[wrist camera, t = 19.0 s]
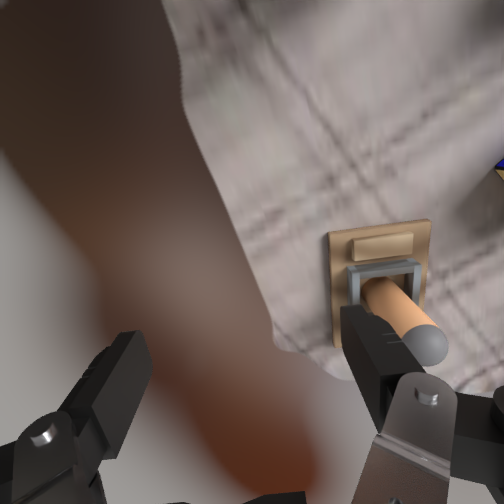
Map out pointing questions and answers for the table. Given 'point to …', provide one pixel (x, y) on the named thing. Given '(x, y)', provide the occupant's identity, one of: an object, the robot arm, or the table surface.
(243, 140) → the table surface
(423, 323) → the grey-capped tan cylinder
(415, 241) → the jig
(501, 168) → the puzzle cube
